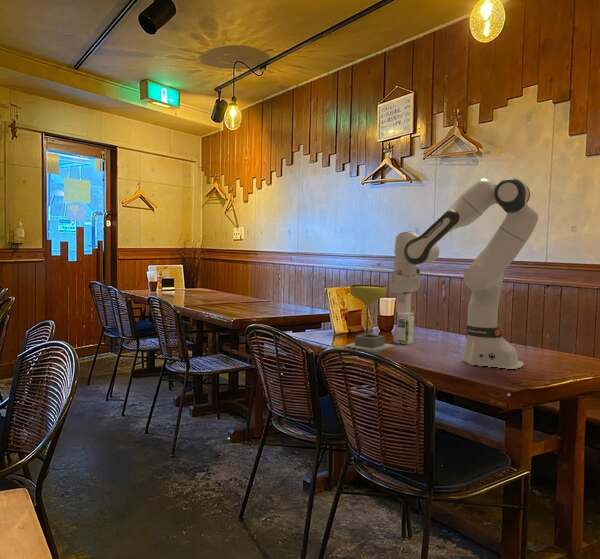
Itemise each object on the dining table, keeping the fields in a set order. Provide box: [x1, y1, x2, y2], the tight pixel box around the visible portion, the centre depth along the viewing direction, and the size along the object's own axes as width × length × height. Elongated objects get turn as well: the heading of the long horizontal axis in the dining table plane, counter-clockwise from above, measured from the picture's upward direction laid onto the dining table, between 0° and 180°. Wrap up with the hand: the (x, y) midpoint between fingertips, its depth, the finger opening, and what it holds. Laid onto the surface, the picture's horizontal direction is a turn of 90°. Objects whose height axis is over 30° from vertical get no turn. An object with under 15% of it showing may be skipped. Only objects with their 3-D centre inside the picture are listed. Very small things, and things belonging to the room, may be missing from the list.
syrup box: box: [396, 312, 415, 346], centre depth 231 cm, size 6×6×14 cm
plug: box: [395, 292, 412, 314], centre depth 211 cm, size 4×4×9 cm
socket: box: [344, 333, 396, 353], centre depth 220 cm, size 16×16×5 cm
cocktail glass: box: [349, 284, 387, 336], centre depth 248 cm, size 18×18×25 cm
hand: (403, 302), depth 211 cm, fingers closed on plug, 4 cm apart
